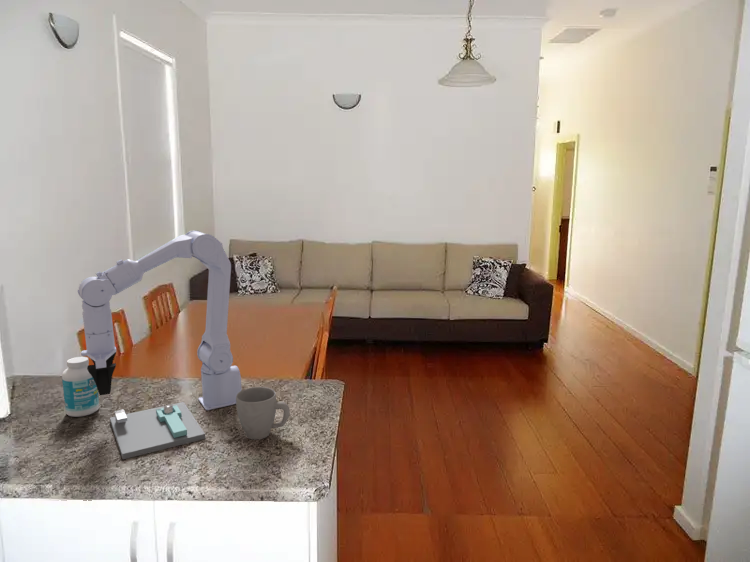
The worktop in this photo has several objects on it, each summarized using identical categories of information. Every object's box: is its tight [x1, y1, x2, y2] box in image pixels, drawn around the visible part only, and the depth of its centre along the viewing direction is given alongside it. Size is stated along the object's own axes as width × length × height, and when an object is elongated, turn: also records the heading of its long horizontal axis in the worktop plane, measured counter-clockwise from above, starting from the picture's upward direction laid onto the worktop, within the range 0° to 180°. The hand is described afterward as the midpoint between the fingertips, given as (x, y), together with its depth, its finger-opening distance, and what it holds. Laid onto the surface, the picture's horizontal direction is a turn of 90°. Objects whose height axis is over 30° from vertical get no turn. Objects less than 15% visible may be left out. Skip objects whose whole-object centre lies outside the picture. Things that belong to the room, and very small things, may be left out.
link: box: [156, 405, 187, 438], centre depth 128 cm, size 14×5×1 cm, turn 32°
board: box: [109, 401, 206, 460], centre depth 128 cm, size 17×20×1 cm
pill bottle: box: [61, 356, 100, 418], centre depth 136 cm, size 8×7×14 cm
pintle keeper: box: [114, 404, 173, 424], centre depth 130 cm, size 12×5×4 cm, turn 122°
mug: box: [235, 386, 291, 440], centre depth 125 cm, size 12×9×10 cm
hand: (105, 387), depth 127 cm, fingers open, 7 cm apart
